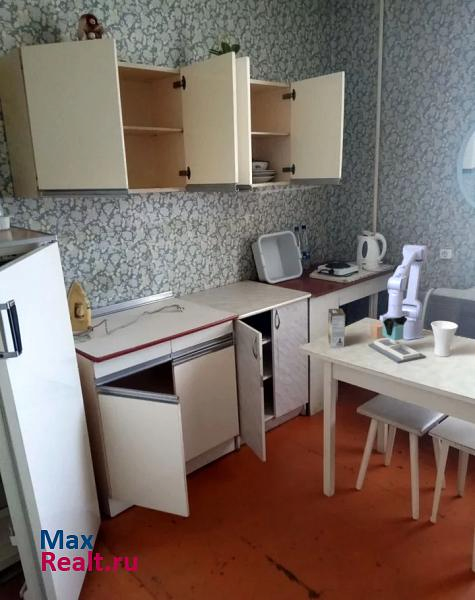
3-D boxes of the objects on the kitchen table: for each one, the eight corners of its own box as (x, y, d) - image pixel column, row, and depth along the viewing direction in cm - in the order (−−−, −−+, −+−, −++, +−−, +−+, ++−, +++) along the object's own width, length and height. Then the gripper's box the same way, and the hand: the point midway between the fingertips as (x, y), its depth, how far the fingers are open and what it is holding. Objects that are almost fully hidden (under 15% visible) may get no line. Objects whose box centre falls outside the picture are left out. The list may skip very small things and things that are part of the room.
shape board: (394, 341, 217) (394, 336, 216) (425, 357, 198) (425, 352, 197) (368, 346, 213) (368, 341, 212) (398, 363, 194) (398, 357, 193)
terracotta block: (379, 334, 227) (379, 322, 225) (385, 337, 223) (386, 325, 221) (370, 335, 226) (370, 324, 224) (376, 339, 221) (377, 327, 219)
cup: (457, 359, 195) (460, 329, 192) (431, 358, 197) (433, 328, 194) (451, 350, 205) (454, 321, 201) (426, 349, 207) (429, 320, 203)
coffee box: (327, 340, 222) (328, 308, 217) (341, 340, 221) (341, 308, 217) (330, 347, 213) (331, 314, 208) (344, 347, 213) (345, 314, 208)
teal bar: (390, 333, 209) (391, 321, 207) (403, 338, 201) (403, 325, 200) (382, 335, 207) (382, 322, 206) (394, 340, 200) (395, 327, 198)
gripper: (402, 299, 206) (400, 328, 210) (375, 304, 200) (374, 333, 204) (413, 303, 200) (411, 333, 203) (386, 308, 194) (385, 338, 198)
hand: (393, 333), depth 203 cm, fingers closed on teal bar, 4 cm apart
